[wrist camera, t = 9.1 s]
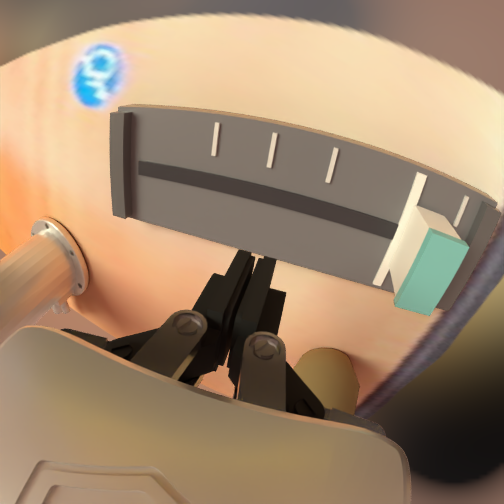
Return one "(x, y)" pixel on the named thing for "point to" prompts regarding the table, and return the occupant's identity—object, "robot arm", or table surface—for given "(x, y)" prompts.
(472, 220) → the console board
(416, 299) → the fader knob
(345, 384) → the squeeze bottle
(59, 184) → the table surface
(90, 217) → the table surface
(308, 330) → the table surface
